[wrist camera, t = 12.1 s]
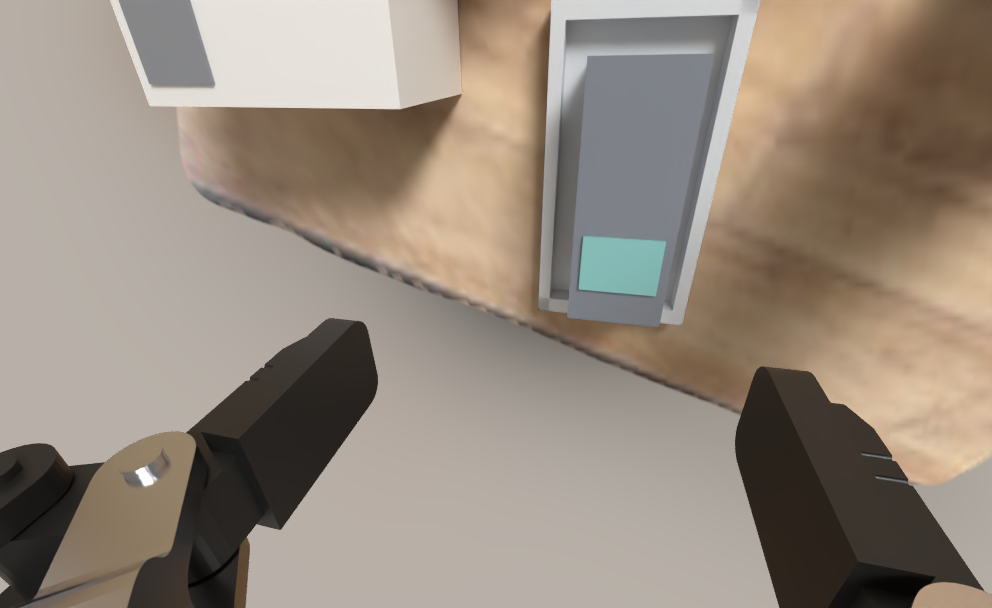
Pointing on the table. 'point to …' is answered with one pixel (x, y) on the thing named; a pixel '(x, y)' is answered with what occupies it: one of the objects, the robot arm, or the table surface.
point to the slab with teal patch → (633, 181)
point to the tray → (573, 36)
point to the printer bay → (293, 52)
